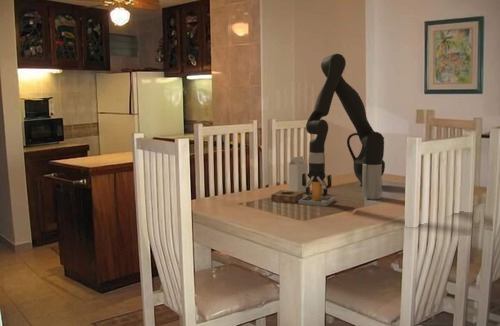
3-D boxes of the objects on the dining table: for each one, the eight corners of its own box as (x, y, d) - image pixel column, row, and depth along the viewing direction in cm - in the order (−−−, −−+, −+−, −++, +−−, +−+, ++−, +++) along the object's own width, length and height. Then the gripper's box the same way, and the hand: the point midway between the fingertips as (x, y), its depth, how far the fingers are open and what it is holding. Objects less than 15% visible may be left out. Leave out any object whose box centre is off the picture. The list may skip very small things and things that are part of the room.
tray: (334, 202, 244) (334, 196, 244) (326, 207, 232) (326, 202, 232) (307, 199, 250) (307, 194, 249) (298, 205, 238) (298, 200, 237)
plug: (322, 201, 242) (322, 181, 240) (319, 203, 238) (319, 182, 236) (313, 200, 244) (313, 180, 242) (310, 202, 240) (310, 181, 238)
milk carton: (288, 192, 270) (288, 156, 267) (298, 190, 274) (298, 155, 271) (297, 194, 264) (297, 158, 262) (307, 192, 268) (307, 156, 266)
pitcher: (385, 189, 273) (386, 134, 269) (346, 188, 277) (346, 134, 273) (383, 183, 290) (384, 131, 286) (346, 182, 294) (347, 131, 290)
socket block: (303, 199, 250) (303, 191, 250) (294, 204, 239) (294, 196, 239) (280, 197, 255) (280, 190, 255) (271, 202, 245) (271, 194, 244)
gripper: (333, 161, 238) (333, 195, 241) (305, 160, 245) (305, 193, 247) (329, 163, 232) (328, 198, 234) (299, 161, 238) (299, 196, 240)
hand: (316, 195), depth 240 cm, fingers open, 7 cm apart
